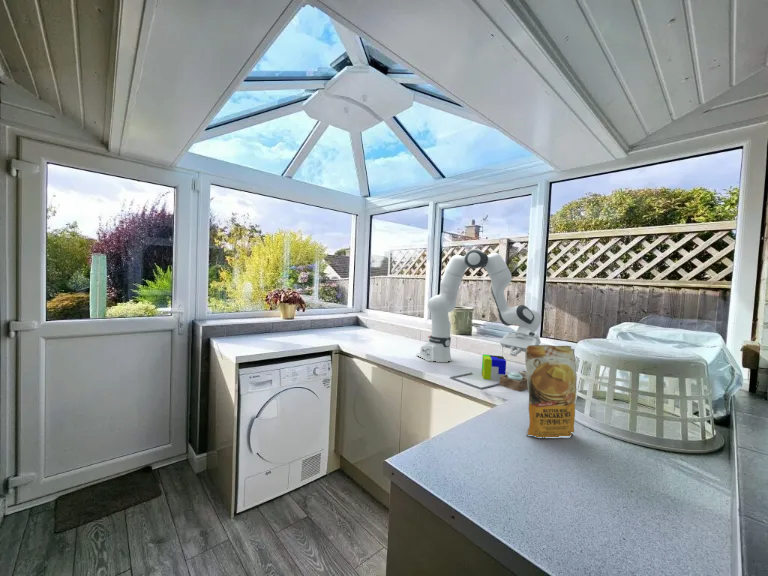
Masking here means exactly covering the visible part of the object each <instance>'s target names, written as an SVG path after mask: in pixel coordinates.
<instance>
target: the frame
mask: <svg viewBox="0 0 768 576" xmlns="http://www.w3.org/2000/svg"><path fill="white" fill-rule="evenodd" d="M469 375H474V374H473V372H467V373H466V372H465V373H462V374H458V375H452V376H449V377H450V378H452V379H451V380H454V381H457V382H460V383H461V384H465V385H467V386H469V387H473V388H474V389H475V388H476V389H478V390H480V391H481V390H486V389H490V388H493V387H496V386H501V385H500V384H499V382H497V383H494V384H489V385H486V386H478V385H474V384H473V383H470V382H467V381H464V380H461V379H458V378H459V377H465V376H469ZM455 377H456V378H455ZM450 378H449V379H450Z"/></svg>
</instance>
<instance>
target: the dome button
mask: <svg viewBox="0 0 768 576" xmlns="http://www.w3.org/2000/svg"><path fill="white" fill-rule="evenodd" d="M507 375H508V378H509V379H512V380H516V381H520V380H522V379H523V376H522V375H520V373H518V371H517V372H516V371H510V372H509V373H507Z"/></svg>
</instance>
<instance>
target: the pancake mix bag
mask: <svg viewBox="0 0 768 576" xmlns="http://www.w3.org/2000/svg"><path fill="white" fill-rule="evenodd" d="M525 367H526V369H525V370H526V372H527V386H528V389H527V391H528V414H529V424H528V429H527V431H526V436H527V435H533V436H536V437H542V438H543V437H544V438H545V437H559V436H570V435H572V433H571V432H574V433H575V421H576V420H575V419H576V418H575V417H576V401H577V390H578V389H577V388H578V387H577V379H578V377H577V367H576V356H575V350H574V348H572V346H571V345H550V344H549V345H548V344H546V345H545V344H544V345H543V344H542V345H541V344H539V345H531V346H528V347H527V348H526V352H525ZM572 436H573V435H572Z"/></svg>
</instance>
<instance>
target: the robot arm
mask: <svg viewBox="0 0 768 576" xmlns="http://www.w3.org/2000/svg"><path fill="white" fill-rule="evenodd" d="M468 268H471V269H479V268H483V269H485V271H486V273H487V275H488V276H489V279H490V282H491V294H492V297H493V299H494V302H495V306H496V308H497V309H496V310H497V312H498V318H499V320H500V322H501V323H502V324H503V325H504V326H506V327H510V326H513V325H517V324H518V327H517V329H516V331H515V333H511V332H508V333H505V334H504V335H503V337H502V338H501V339H500V342H499V343H500V346H501V347H502V348H505V349H510V352H509V355H510V356H512V357H517V355H519V354H521V353H522V352H526V348H527V347H528V346H531V345H541V339H540V337H539V335H538V334H537V333H536V332H537V331H538V329H539V327H540V325H541V323H542V315H541V313H540V312H539V311H537V310H535V309H533V310H532V309H529V307H528V306H526V305H524V304H519V305H515V306H511V307H510V306H509V305H508V302H507V299H506V297H505V294H504V293H505V290H506V288H507V287H508V286H509V284H510V283H511V282H512V277H513V276H512V273H511V270H510V269H509V267H508V265H507V263H506V262H505V260H504V259H503V257H502V256H501V255H500V253H497V252H493V253H490V254H486V253H484V252H483V250H481V249H479V248H472V249H470V250H468V251H467V252H466V253H465V255H464V256H463V255H460V254H459V255H458V254H457V255H456V254H455V255H453V256H452V257H451V258H450V259H449V260H448V263H447V265H446V267H445V270H444V272H443V275H442V278H441V281H440V290H439V294H436V295H433V296H432V297H430V298H429V300H428V301H427V309H428V310H429V312H430V319H431V335H429V336H427V338H428V341H426V343H424V344H422V346H421V347H420V351H419V352H418V353H416V354H415V356H416V355H417V356H416V357H418V356H419V358H420V357H421V358H420V359H422V358H423V359H422V360H424V359H425V361H427V362H433V361H436V362H437V363H449V362H448V361H450V362H452V361H451V360H452V356H451V341H452V340H451V326H452V324H451V322H450V318H449V313H451V312H453V310H455V308H456V306H457V298H458V293H459V288H460V286H461V283H462V281H463V278H464V274H465V273H466V270H467V269H468ZM436 362H435V363H436Z"/></svg>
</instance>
